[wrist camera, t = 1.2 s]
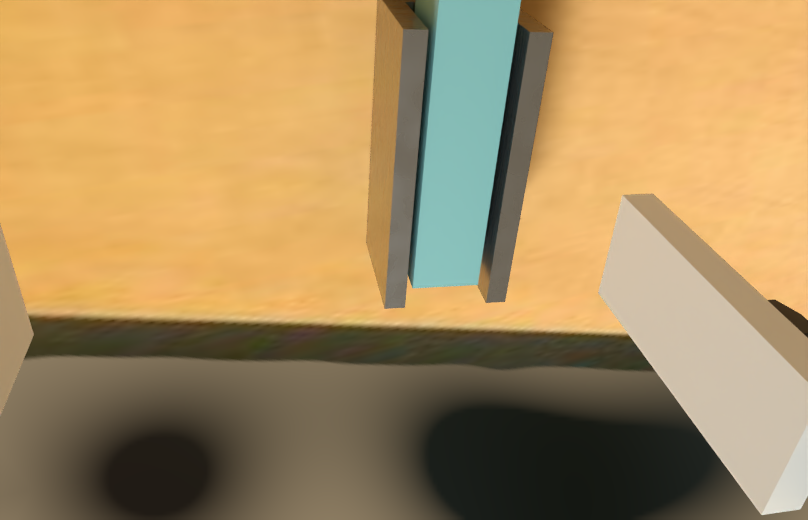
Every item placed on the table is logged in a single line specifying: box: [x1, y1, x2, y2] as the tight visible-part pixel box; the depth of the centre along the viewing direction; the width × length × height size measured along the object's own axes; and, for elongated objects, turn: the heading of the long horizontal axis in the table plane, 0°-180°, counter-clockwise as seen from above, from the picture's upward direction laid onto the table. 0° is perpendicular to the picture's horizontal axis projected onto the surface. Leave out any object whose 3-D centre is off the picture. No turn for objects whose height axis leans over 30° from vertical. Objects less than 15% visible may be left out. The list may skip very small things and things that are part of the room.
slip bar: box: [408, 0, 521, 288], centre depth 36 cm, size 4×26×5 cm, turn 176°
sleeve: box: [366, 0, 553, 309], centre depth 40 cm, size 7×16×8 cm, turn 176°
